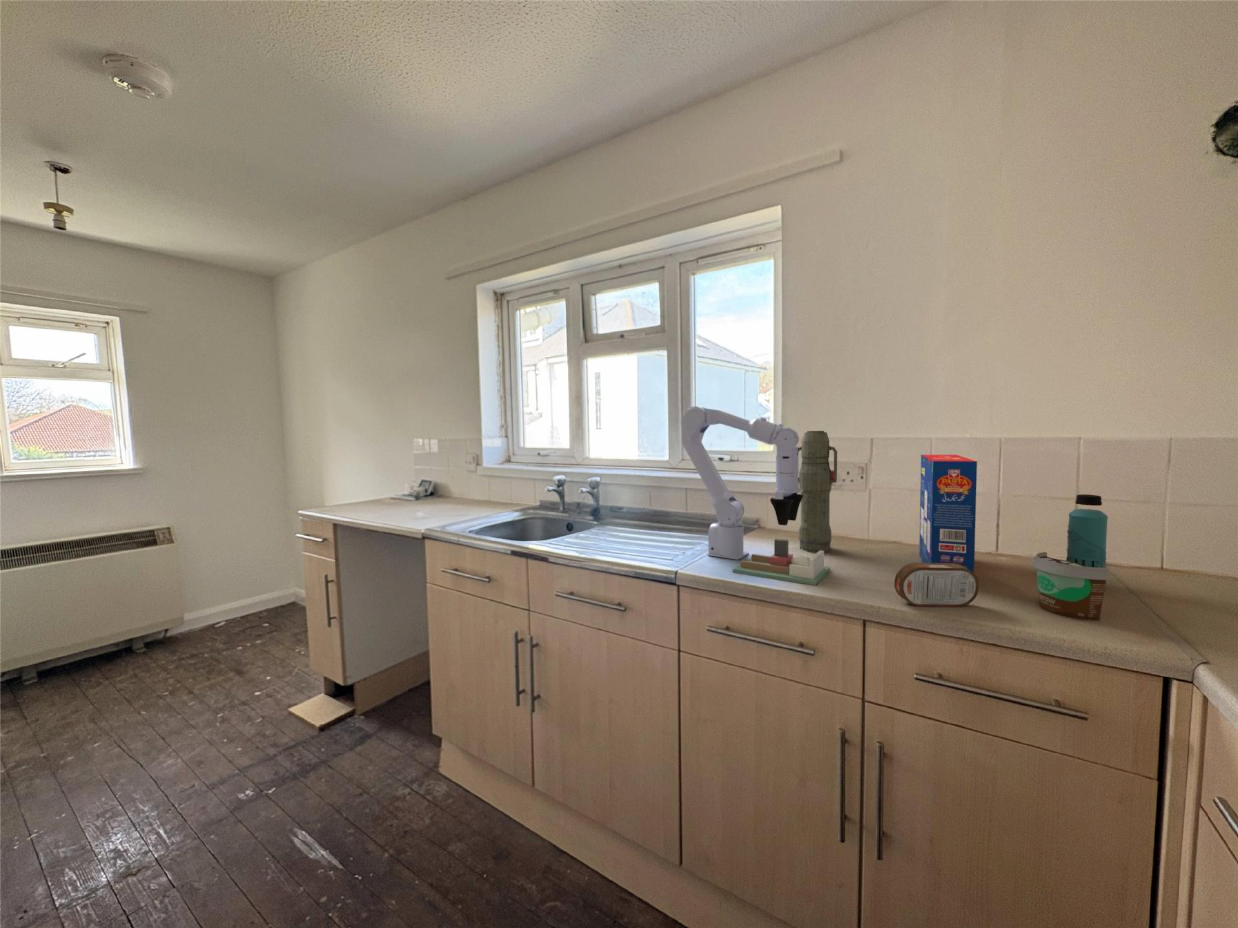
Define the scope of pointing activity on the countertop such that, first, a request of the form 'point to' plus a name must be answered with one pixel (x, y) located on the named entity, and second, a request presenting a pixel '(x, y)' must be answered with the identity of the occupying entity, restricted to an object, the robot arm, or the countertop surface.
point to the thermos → (815, 491)
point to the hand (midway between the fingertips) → (787, 522)
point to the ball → (799, 560)
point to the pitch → (773, 570)
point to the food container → (1070, 587)
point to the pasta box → (948, 510)
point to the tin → (936, 584)
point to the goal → (809, 567)
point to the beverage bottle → (1087, 533)
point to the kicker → (781, 553)
